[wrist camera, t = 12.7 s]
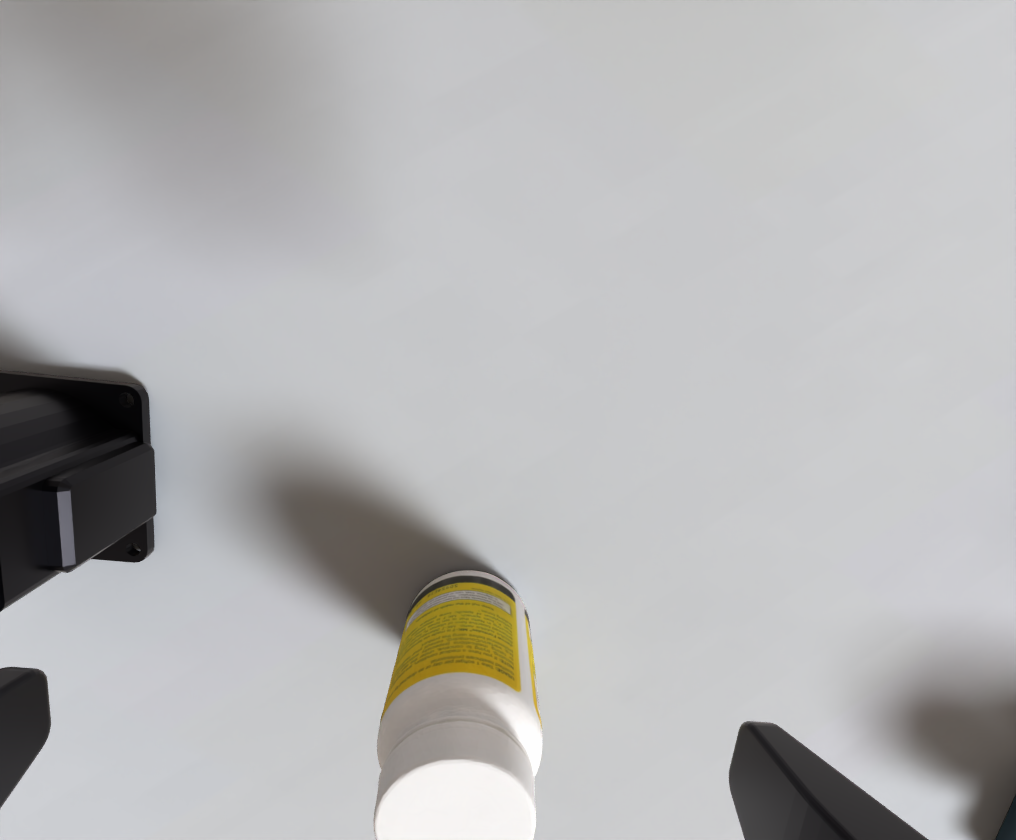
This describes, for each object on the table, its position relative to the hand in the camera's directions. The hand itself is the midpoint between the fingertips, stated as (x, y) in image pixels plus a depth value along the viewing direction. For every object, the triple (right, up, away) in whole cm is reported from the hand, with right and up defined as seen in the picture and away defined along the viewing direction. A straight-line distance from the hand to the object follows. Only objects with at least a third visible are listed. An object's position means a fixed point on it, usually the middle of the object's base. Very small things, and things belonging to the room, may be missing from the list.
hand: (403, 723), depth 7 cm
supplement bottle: (0, -4, +14) cm, 15 cm away
